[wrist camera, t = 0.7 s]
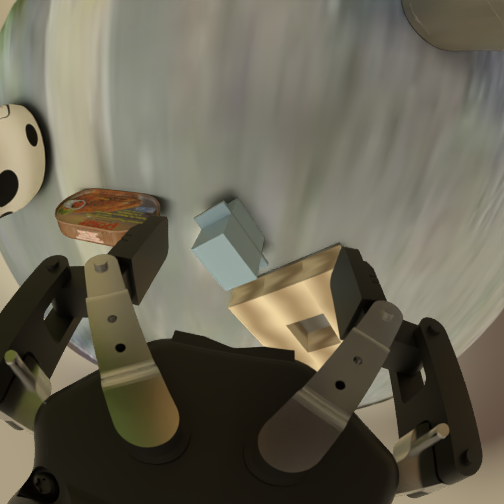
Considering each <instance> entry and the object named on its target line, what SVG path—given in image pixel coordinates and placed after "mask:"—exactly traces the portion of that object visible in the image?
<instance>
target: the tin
mask: <svg viewBox="0 0 504 504" xmlns="http://www.w3.org/2000/svg"><path fill="white" fill-rule="evenodd" d="M150 215H158V216H160V204H159V202H158V200H157V199H156V198H154V197H152V196H150V195H148V194H143V193H134V192H125V191H116V190H106V189H88V190H84V191H80V192H77V193H75V194H73V195H71V196H69V197H68V198H66V199H65V200H63V201H62V202H61V203H60V204H59V205H58V207H57V208H56V211H55V217H56V219H57V221H58V224H59V227H60V230H61V232H62V233H63V234H64V235H65V236H67V237H69V238H73V239H78V240H83V241H87V242H92V243H97V244H102V245H107V246H112V247H114V246H115V245H116V243H117V242H118V241H119V240H121V238H122V237H123V236H124V235H125V233H126V232H127V231H128V230H129V229H130V228H131V227H133V226H135V225H137V224H139V223H141V224H143V223H144V222H145V220H146V219H147V218H148V217H149V216H150Z"/></svg>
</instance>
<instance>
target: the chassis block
mask: <svg viewBox="0 0 504 504" xmlns="http://www.w3.org/2000/svg"><path fill="white" fill-rule="evenodd" d="M341 248H342V247H341V244H340V243H337V244H335V245H332V246H330V247H328V248H325V249H323V250H321V251H318V252H316V253H313V254H311V255H309V256H306V257H304V258H301V259H299V260H296V261H294V262H292V263H289V264H287V265H284V266H282V267H279V268H277V269H274V270H272V271H269V272H267V273H264V274H262V275H259V276H258V278H257V279H256V280H253V281H251V282H248V283H246V284H243V285H241V286H238V287H235V288H233V292H232V296H231V300H230V304H229V307H228V308H229V309H230V310H231V312H232V313H233V314H234V315H235V316H236V317H237V318H238V319H239V320H240V321H241V322H242V323H243V325H244V326H245V327H246V328H247V329H248V330H249V331H250V332H251V333H252V334H253V335H254V336H255V337H256V338H257V339H258V340H259V342H260V343H261V344H262V345H263V346H264V347H272V348H279V349H287V350H295V360H298V361H301V362H303V363H305V364H307V365H308V366H310V367H312V368H313V369H315V370H316V371H318V370H319V369H320V368H321V367H322V366H323V365H324V363H325V362H326V361H327V360H328V359H329V357H330V356H331V355H332V354H333V353H334V351H335V350H336V349H337V348H338V347H339V345H340V344H341V343H342V342H343V340H340V337H339V331H338V325H337V320H336V314H335V309H334V304H333V299H332V294H331V289H330V279H331V274H332V271H333V269H334V266H335V263H336V261H337V258H338V255H339V252H340V250H341Z"/></svg>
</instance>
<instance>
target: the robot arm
mask: <svg viewBox="0 0 504 504" xmlns="http://www.w3.org/2000/svg"><path fill="white" fill-rule="evenodd" d="M402 6H403V9H404V12H405V15H406V17H407V19H408V21H409V22H410V24H411V25H412V27H413V28H414V29H415V30H416V31H417V33H418V34H419V35H420V36H421V37H422V38H424V39H425V40H426V41H427V42H429V43H430V44H432V45H433V46H435V47H437V48H440V49H443V50H447V51H464V50H484V51H504V0H402ZM167 253H168V219H167V217H165V216H158V215H150V216H149V217H148V218H147V219H146V220H145V222H144V223H143V224H141V223H139V224H137V225H135V226H133V227H131V228H130V229H129V230H128V231H127V232H126V233H125V235H124V236H123V237H122V238H121V240H119V241H118V242H117V243H116V245H115V246H114V247H113V248H112V249H111V250H110V251H109V253H108V254H101V255H97V256H94V257H92V258H90V259H89V260H88V261H87V262H86V264H85V266H69V263H68V259H67V258H66V257H65V256H62V255H55V256H51V257H49V258H47V259H45V260H44V261H43V262H42V263H41V264H40V265H39V266H38V267H37V268H36V269H35V270H34V272H33V273H32V274H31V275H30V276H29V277H28V279H27V280H26V281H25V282H24V283H23V285H22V286H21V287H20V288H19V289H18V291H17V292H16V293H15V294H14V296H13V297H12V299H11V300H10V301H9V302H8V303H7V305H6V306H5V308H4V309H3V310H2V312H1V313H0V419H2V420H4V421H5V422H7V423H8V424H9V425H10V426H11V427H13V428H14V429H17V430H23V429H25V430H26V431H28V432H29V433H31V434H33V435H34V440H35V459H34V467H33V471H32V473H31V475H30V477H29V478H28V480H27V481H26V482H25V483H24V485H23V486H22V487H21V488H20V490H18V491H17V492H16V493H15V495H14V496H13V497H12V498H11V499H10V500H9V502H8V504H391V503H392V501H393V499H394V497H397V496H403V495H407V496H408V497H411V498H418V497H421V496H424V495H427V494H429V493H432V492H435V491H438V490H440V489H442V488H445V487H447V486H450V485H452V484H454V483H456V482H459V481H461V480H463V479H465V478H467V477H469V476H471V475H473V474H475V473H476V472H477V471H478V470H479V468H480V466H481V463H482V449H481V443H480V438H479V434H478V429H477V425H476V420H475V416H474V412H473V408H472V405H471V401H470V398H469V394H468V391H467V388H466V384H465V381H464V378H463V375H462V372H461V369H460V366H459V364H458V361H457V358H456V355H455V353H454V350H453V348H452V345H451V343H450V340H449V338H448V335H447V333H446V330H445V329H444V327H443V326H442V325H441V324H440V323H439V322H438V321H436V320H435V319H432V318H428V317H426V318H423V319H422V320H421V321H420V323H419V324H418V325H416V324H413V323H410V322H408V321H405V320H403V315H402V313H401V311H400V310H399V309H398V308H397V307H396V306H395V305H394V304H392V303H390V302H387V300H386V298H385V295H384V293H383V290H382V288H381V285H380V284H379V281H378V278H376V277H377V276H376V274H375V271H374V269H373V268H372V267H371V266H370V265H369V264H368V263H367V262H366V261H363V259H362V256H361V254H360V252H359V250H358V249H353V248H348V247H342V248H341V250H340V252H339V255H338V258H337V261H336V263H335V266H334V269H333V271H332V274H331V279H330V289H331V294H332V299H333V304H334V309H335V314H336V320H337V325H338V331H339V337H340V340H343V342H342V343H341V344H340V345H339V347H338V348H337V349H336V350H335V351H334V353H333V354H332V355H331V356H330V357H329V359H328V360H327V361H326V362H325V363H324V365H323V366H322V367H321V368H320V369H319V370H318V371H316V370H315V369H313V368H312V367H310V366H308V365H307V364H305V363H303V362H301V361H298V360H295V350H287V349H279V348H272V347H251V348H232V347H229V346H226V345H224V344H221V343H219V342H217V341H214V340H212V339H209V338H207V337H205V336H200V335H195V334H191V333H186V332H181V331H177V330H175V332H174V335H173V337H172V339H160V340H154V341H151V342H148V343H146V341H145V338H144V335H143V333H142V330H141V327H140V325H139V322H138V319H137V316H136V314H135V311H134V308H133V305H132V304H135V305H139V304H140V303H141V301H142V299H143V297H144V295H145V294H146V292H147V290H148V288H149V287H150V285H151V283H152V281H153V280H154V278H155V276H156V274H157V273H158V271H159V269H160V268H161V266H162V264H163V263H164V261H165V259H166V257H167ZM50 303H52V305H53V308H52V310H51V311H50V313H49V314H48V316H47V317H46V319H45V320H44V313H45V311H46V309H47V308H48V306H49V305H50ZM82 317H85V318H89V324H90V330H91V335H92V340H93V345H94V350H95V354H96V359H97V363H98V367H99V369H98V370H96V371H95V372H93V373H91V374H89V375H87V376H86V377H84V378H82V379H80V380H78V381H76V382H75V383H73V384H71V385H69V386H67V387H65V388H63V389H62V390H60V391H58V392H56V393H54V394H52V395H51V396H50V394H51V382H50V378H51V376H52V374H53V372H54V370H55V368H56V365H57V364H58V362H59V360H60V358H61V356H62V354H63V352H64V350H65V348H66V346H67V344H68V342H69V340H70V339H71V337H72V335H73V333H74V331H75V330H76V328H77V326H78V324H79V323H80V321H81V319H82ZM381 367H383V368H386V369H389V374H390V379H391V385H392V391H393V397H394V402H395V410H396V417H397V425H398V433H399V440H398V441H397V442H396V443H395V446H394V449H393V454H391V453H390V451H389V450H388V449H387V448H386V447H385V446H384V445H383V444H382V443H381V441H380V440H379V439H378V438H377V437H376V436H375V435H374V434H373V433H372V432H371V431H370V430H369V428H368V427H367V426H366V425H365V424H364V423H363V422H362V421H361V419H360V418H359V417H358V416H357V415H356V414H355V413H354V411H355V410H356V408H357V407H358V405H359V403H360V402H361V400H362V399H363V397H364V396H365V394H366V392H367V391H368V389H369V388H370V386H371V384H372V383H373V381H374V379H375V377H376V376H377V374H378V372H379V370H380V369H381ZM423 367H424V371H425V374H426V382H425V385H424V383H423V379H422V375H421V372H420V370H421V369H422V368H423Z"/></svg>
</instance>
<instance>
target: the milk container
mask: <svg viewBox="0 0 504 504" xmlns="http://www.w3.org/2000/svg"><path fill="white" fill-rule="evenodd" d="M45 169H46V154H45V145H44V141H43V136H42V133H41V130H40V127H39V125H38V123H37V121H36V119H35V117H34V116H33V114H32V113H31V112H30V111H29V110H28V109H27V108H25V107H23V106H21V105H18V104H8V105H2V106H0V218H2V217H4V216H6V215H9V214H11V213H14V212H16V211H18V210H20V209H21V208H23V207H24V206H25V205H27V204H28V203H29V202H30V201H31V200H32V198H33V197H34V196H35V195H36V194H37V192H38V191H39V189H40V187H41V185H42V182H43V180H44V175H45Z"/></svg>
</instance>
